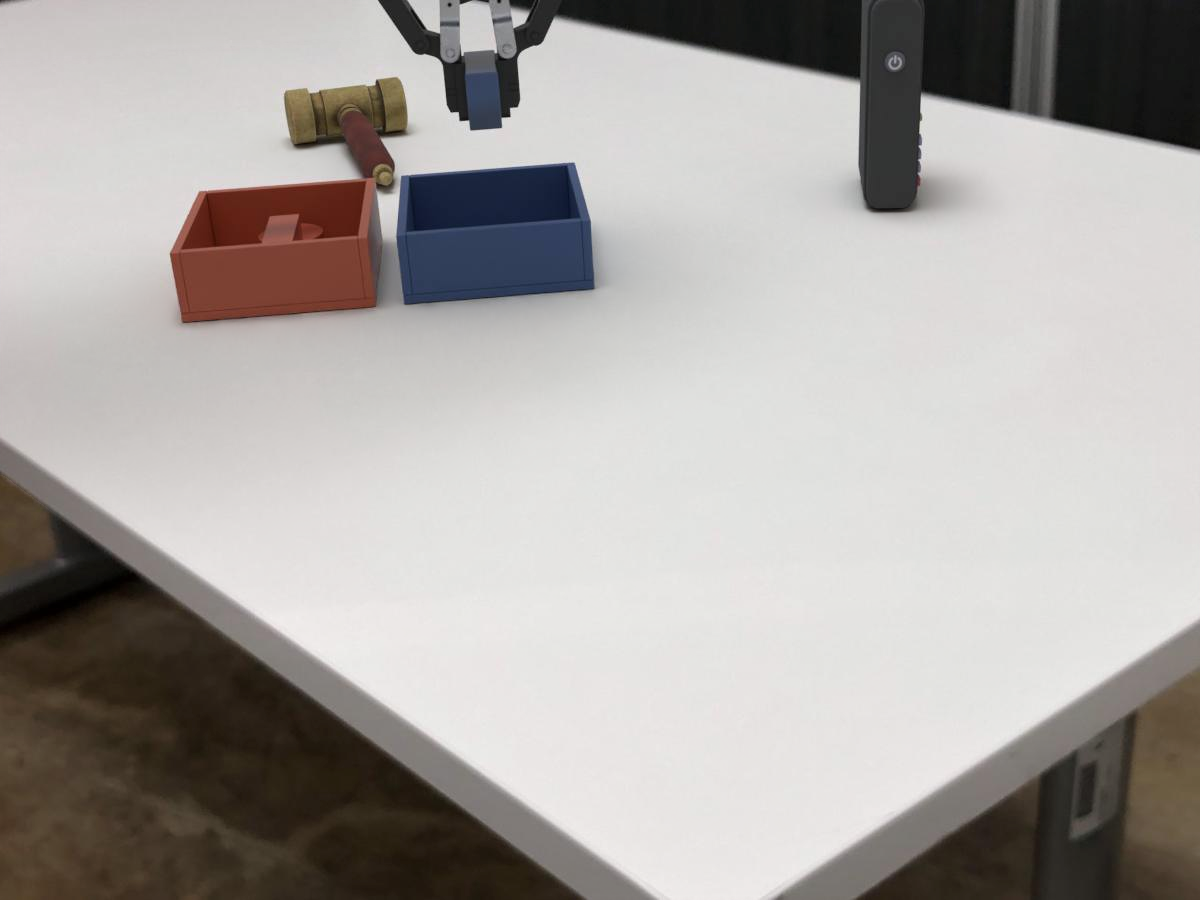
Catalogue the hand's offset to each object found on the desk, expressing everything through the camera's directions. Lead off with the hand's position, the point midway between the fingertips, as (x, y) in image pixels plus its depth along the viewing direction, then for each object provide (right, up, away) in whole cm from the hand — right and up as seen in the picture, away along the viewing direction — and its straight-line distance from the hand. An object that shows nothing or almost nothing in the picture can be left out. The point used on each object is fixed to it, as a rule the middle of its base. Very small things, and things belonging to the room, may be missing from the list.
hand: (484, 115), depth 100 cm
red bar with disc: (-13, -9, +5) cm, 17 cm away
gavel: (-12, +3, +31) cm, 33 cm away
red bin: (-14, -10, +6) cm, 18 cm away
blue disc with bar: (0, +1, +2) cm, 2 cm away
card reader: (+28, -3, +15) cm, 32 cm away
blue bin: (0, -9, +6) cm, 11 cm away
